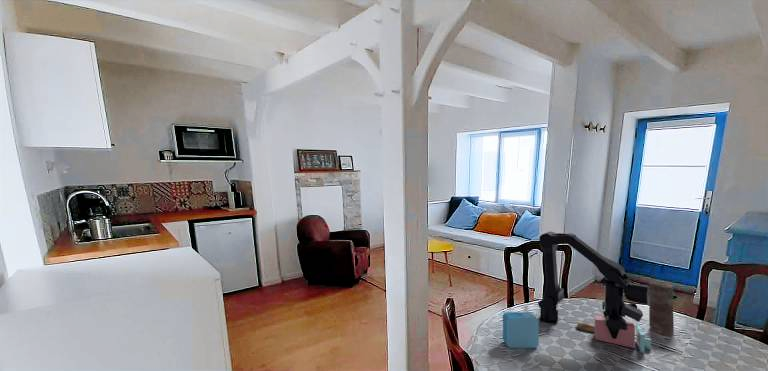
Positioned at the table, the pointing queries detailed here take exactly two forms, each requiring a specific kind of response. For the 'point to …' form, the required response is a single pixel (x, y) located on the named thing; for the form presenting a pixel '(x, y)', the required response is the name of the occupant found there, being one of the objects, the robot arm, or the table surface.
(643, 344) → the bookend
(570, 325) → the table surface
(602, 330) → the boxed book
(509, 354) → the table surface
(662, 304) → the brown tall block
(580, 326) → the rail
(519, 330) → the data package
